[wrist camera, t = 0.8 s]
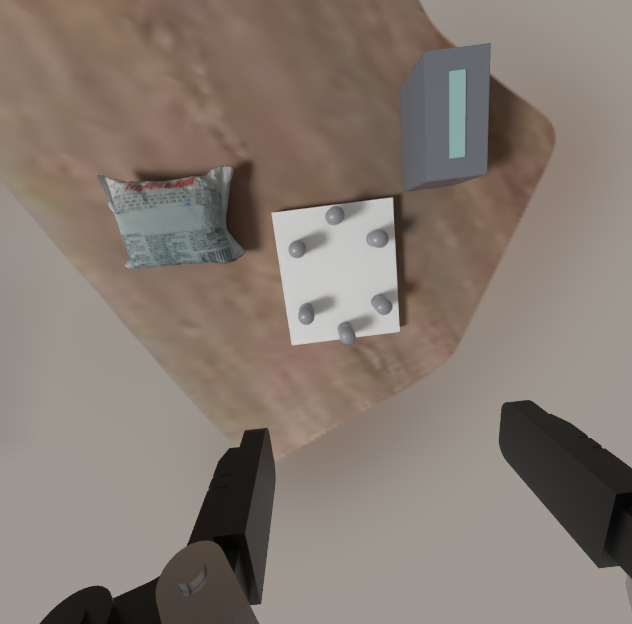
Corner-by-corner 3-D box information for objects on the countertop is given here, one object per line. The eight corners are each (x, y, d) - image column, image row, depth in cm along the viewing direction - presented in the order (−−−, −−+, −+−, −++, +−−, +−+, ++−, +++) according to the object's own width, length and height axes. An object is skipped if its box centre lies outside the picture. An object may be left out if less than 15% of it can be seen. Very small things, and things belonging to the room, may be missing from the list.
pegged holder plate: (272, 213, 30) (268, 210, 26) (389, 198, 30) (400, 193, 26) (292, 341, 34) (290, 354, 30) (396, 328, 34) (407, 339, 30)
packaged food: (117, 179, 29) (80, 169, 24) (237, 170, 29) (224, 158, 24) (138, 268, 31) (108, 274, 26) (249, 259, 31) (239, 264, 27)
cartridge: (399, 90, 28) (424, 50, 22) (451, 83, 28) (491, 41, 22) (403, 191, 30) (427, 181, 24) (452, 185, 30) (487, 173, 24)
